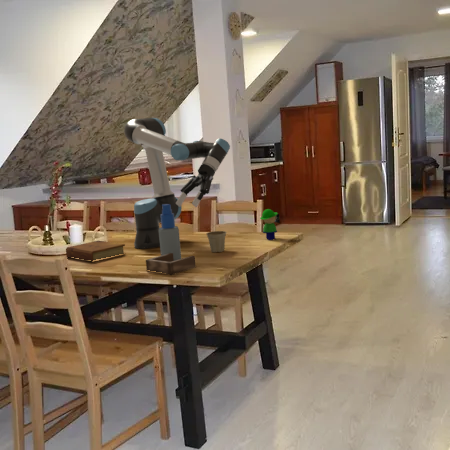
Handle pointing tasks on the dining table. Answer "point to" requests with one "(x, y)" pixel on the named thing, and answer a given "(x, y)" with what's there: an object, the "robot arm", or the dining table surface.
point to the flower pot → (216, 240)
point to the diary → (95, 250)
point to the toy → (270, 223)
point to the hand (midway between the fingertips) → (185, 205)
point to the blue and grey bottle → (169, 233)
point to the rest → (170, 264)
